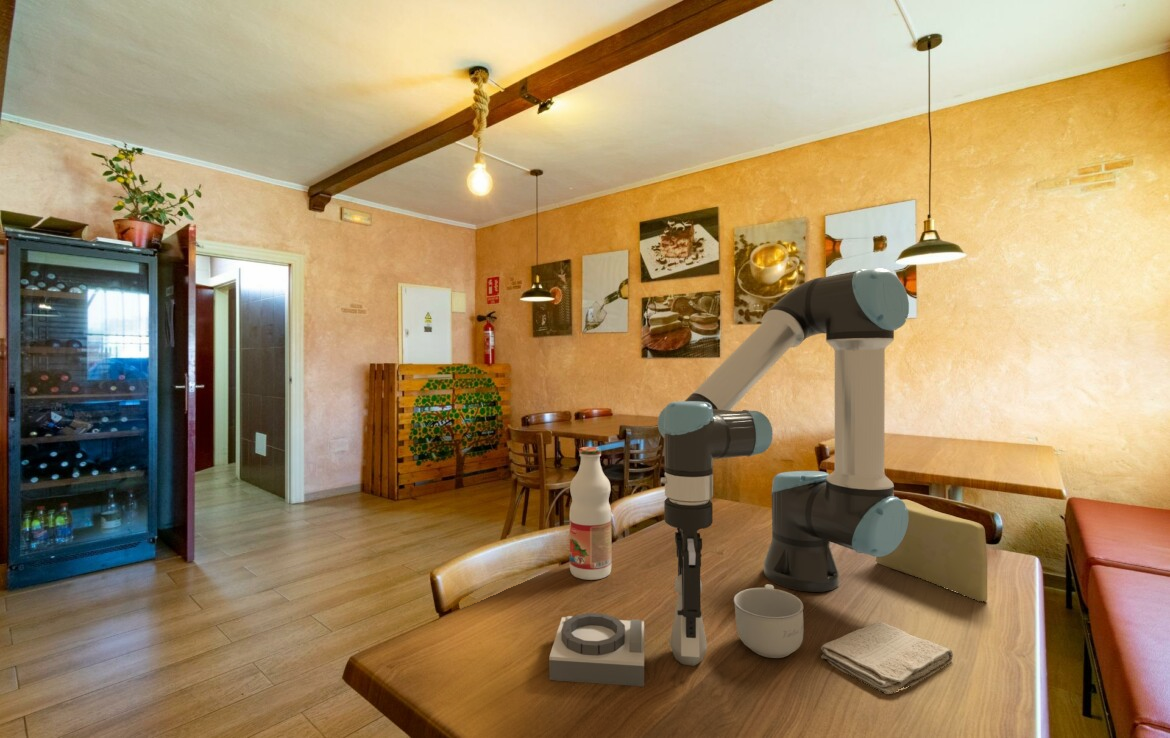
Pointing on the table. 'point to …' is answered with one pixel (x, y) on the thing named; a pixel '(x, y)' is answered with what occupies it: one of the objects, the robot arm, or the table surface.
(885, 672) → the washcloth
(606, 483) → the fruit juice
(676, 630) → the bowling pin
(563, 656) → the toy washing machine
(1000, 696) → the table surface
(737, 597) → the teacup
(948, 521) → the cheese
